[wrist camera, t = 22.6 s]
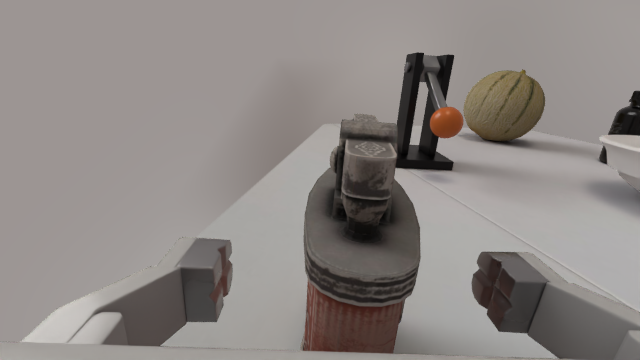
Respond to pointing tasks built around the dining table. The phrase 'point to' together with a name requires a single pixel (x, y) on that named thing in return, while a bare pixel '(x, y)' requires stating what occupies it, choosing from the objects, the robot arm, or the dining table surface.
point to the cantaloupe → (504, 105)
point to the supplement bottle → (625, 122)
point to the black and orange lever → (426, 150)
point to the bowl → (624, 156)
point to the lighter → (359, 244)
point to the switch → (439, 102)
